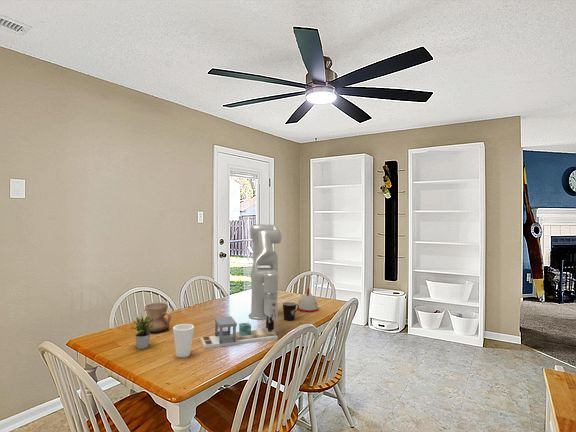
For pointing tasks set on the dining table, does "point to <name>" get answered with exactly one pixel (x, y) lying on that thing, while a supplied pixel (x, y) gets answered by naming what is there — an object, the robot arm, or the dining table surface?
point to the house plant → (143, 331)
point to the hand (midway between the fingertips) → (269, 328)
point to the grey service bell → (308, 303)
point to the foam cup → (183, 339)
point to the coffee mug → (289, 310)
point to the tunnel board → (229, 335)
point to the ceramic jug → (160, 311)
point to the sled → (247, 333)
